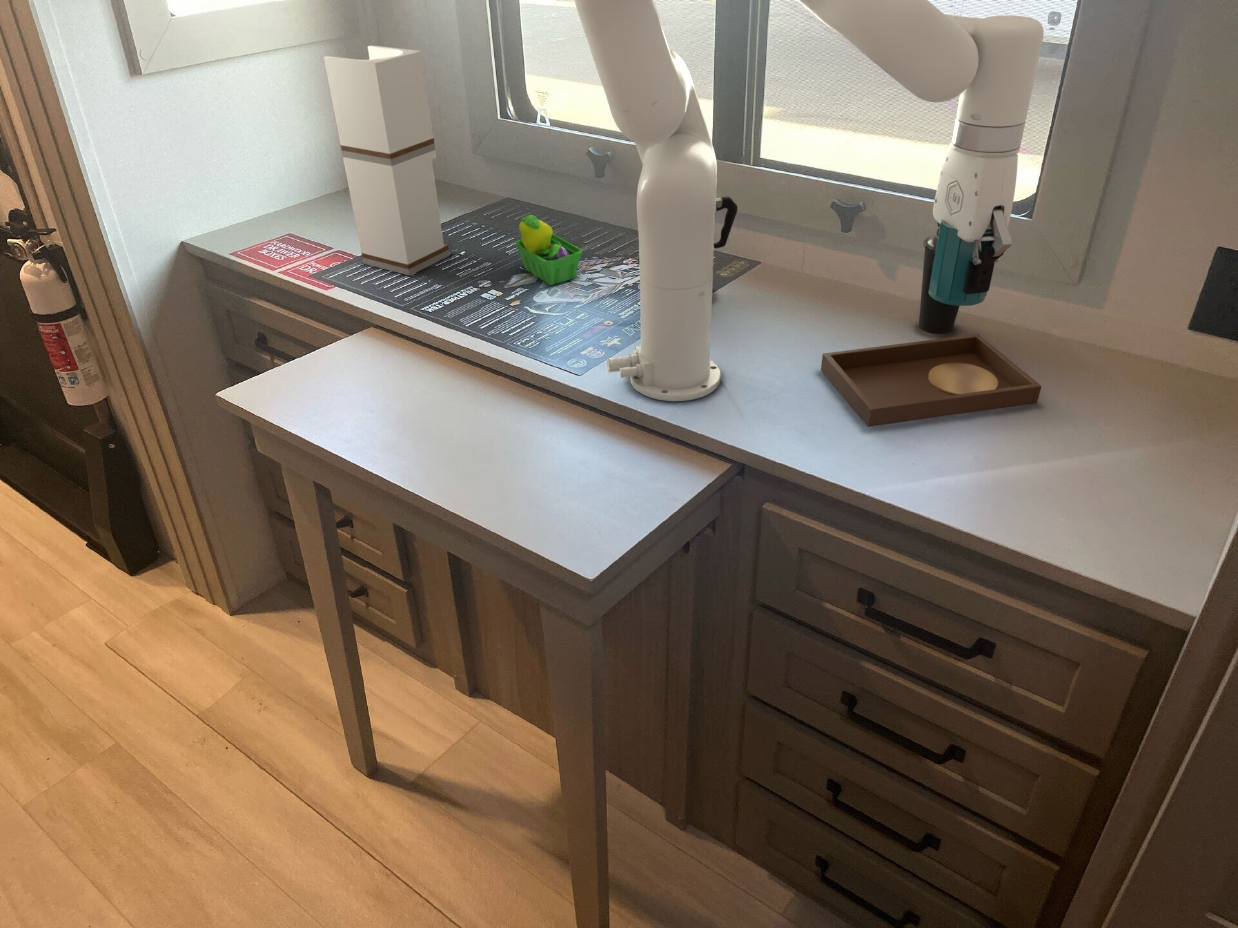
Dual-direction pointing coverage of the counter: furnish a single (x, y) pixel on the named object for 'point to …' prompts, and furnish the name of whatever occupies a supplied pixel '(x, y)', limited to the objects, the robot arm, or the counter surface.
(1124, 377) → the counter surface
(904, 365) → the tray
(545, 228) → the fruit basket
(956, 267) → the cup
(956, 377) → the coaster
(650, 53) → the robot arm
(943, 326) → the drinking cup
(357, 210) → the striped cream pillar
